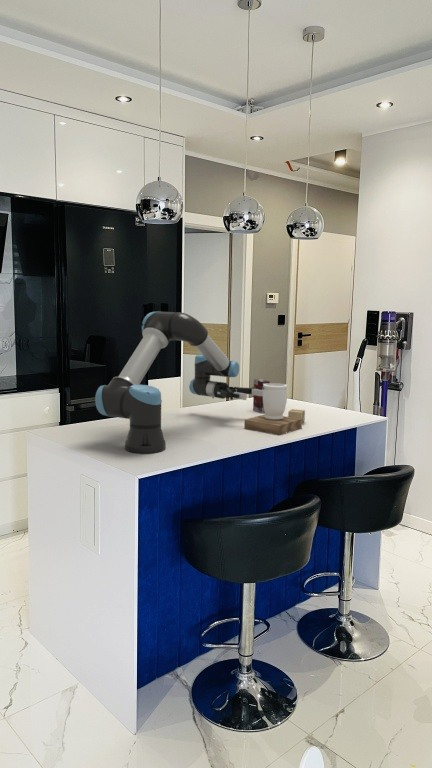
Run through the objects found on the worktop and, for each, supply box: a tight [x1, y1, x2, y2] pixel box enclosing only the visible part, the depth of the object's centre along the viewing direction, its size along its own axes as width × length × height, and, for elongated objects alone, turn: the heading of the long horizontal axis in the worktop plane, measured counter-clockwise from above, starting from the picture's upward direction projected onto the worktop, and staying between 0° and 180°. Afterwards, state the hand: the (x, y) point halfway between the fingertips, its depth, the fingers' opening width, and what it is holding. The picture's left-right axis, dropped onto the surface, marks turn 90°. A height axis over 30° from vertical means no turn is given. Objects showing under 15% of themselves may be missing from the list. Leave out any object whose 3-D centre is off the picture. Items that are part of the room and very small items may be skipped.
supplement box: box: [252, 378, 271, 414], centre depth 300 cm, size 9×5×16 cm, turn 25°
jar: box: [263, 382, 288, 420], centre depth 265 cm, size 11×10×15 cm
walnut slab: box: [243, 413, 303, 436], centre depth 263 cm, size 18×18×4 cm
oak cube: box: [287, 408, 306, 425], centre depth 274 cm, size 6×6×6 cm
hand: (255, 395), depth 268 cm, fingers open, 13 cm apart
